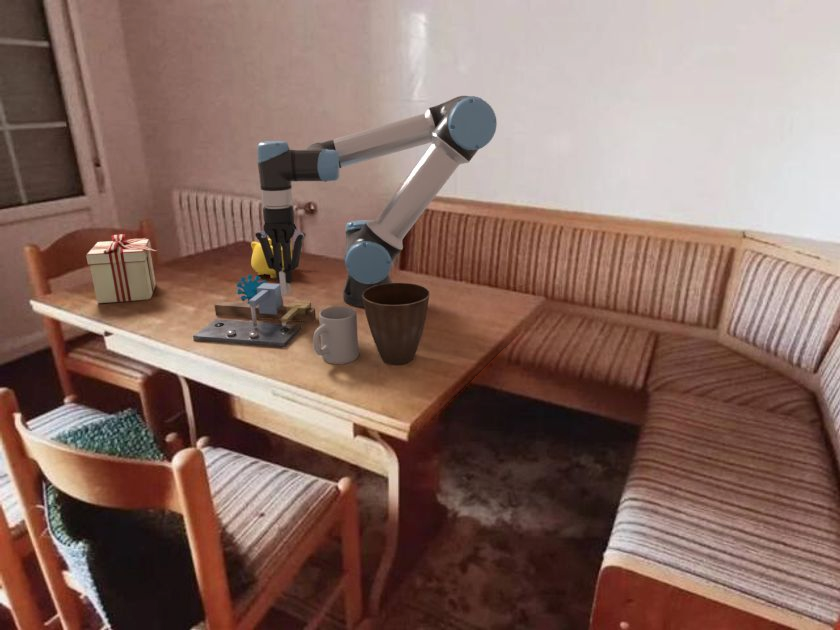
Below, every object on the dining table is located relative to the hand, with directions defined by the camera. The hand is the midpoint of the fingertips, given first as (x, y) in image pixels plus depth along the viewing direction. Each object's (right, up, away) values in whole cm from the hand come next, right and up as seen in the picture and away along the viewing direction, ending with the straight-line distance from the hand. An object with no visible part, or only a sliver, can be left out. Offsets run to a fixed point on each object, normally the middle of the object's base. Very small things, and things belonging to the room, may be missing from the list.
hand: (285, 294), depth 155 cm
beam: (-6, -6, +4) cm, 10 cm away
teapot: (-12, +9, +41) cm, 43 cm away
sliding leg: (-5, -6, -1) cm, 8 cm away
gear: (-12, -2, +15) cm, 19 cm away
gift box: (-51, +1, +22) cm, 56 cm away
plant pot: (+30, -16, -20) cm, 40 cm away
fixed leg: (+3, -7, -2) cm, 7 cm away
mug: (+16, -16, -20) cm, 30 cm away
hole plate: (-8, -11, -7) cm, 15 cm away
